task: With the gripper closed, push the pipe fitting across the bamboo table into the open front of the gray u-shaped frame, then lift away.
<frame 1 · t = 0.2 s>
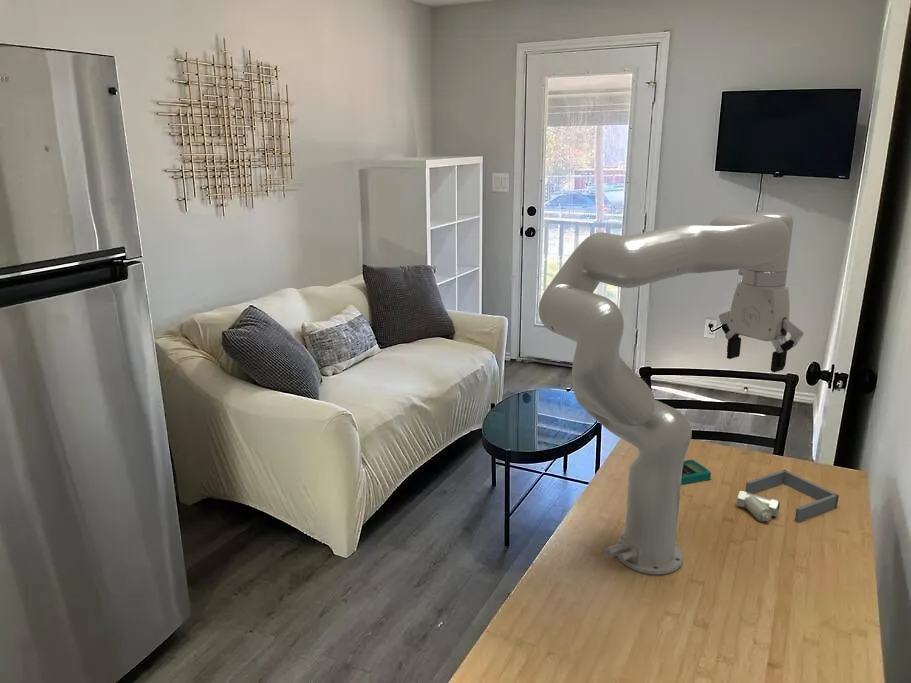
hand: (754, 363, 130), 36 cm above the table, tool pointing down, fingers open, 9 cm apart
pipe fitting: (755, 515, 144), on the table
gray u-shaped frame: (788, 500, 148), on the table
digital multimeter: (676, 480, 160), on the table
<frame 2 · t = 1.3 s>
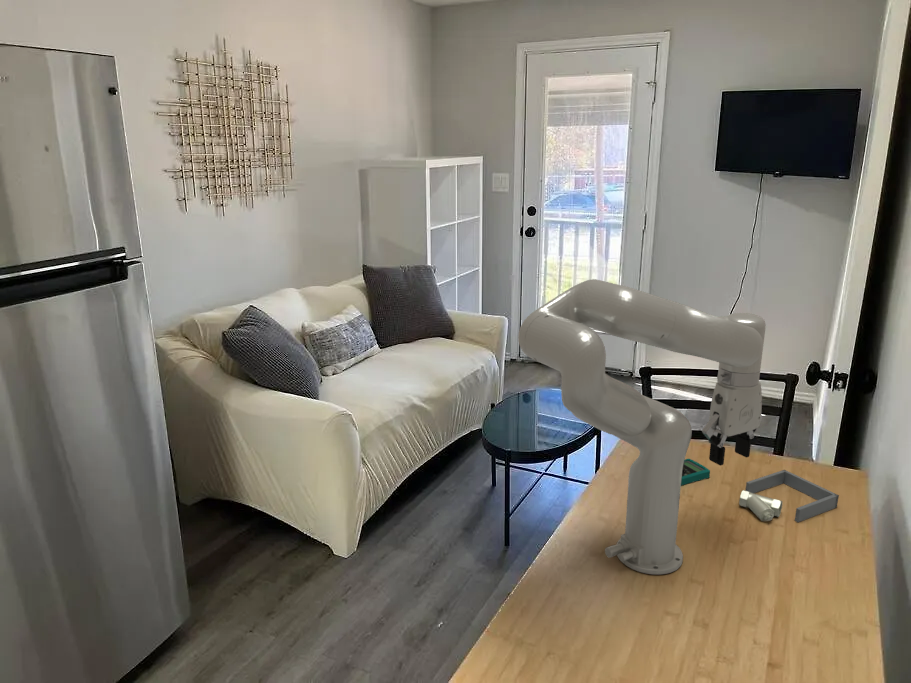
hand: (729, 458, 135), 16 cm above the table, tool pointing down, fingers open, 6 cm apart
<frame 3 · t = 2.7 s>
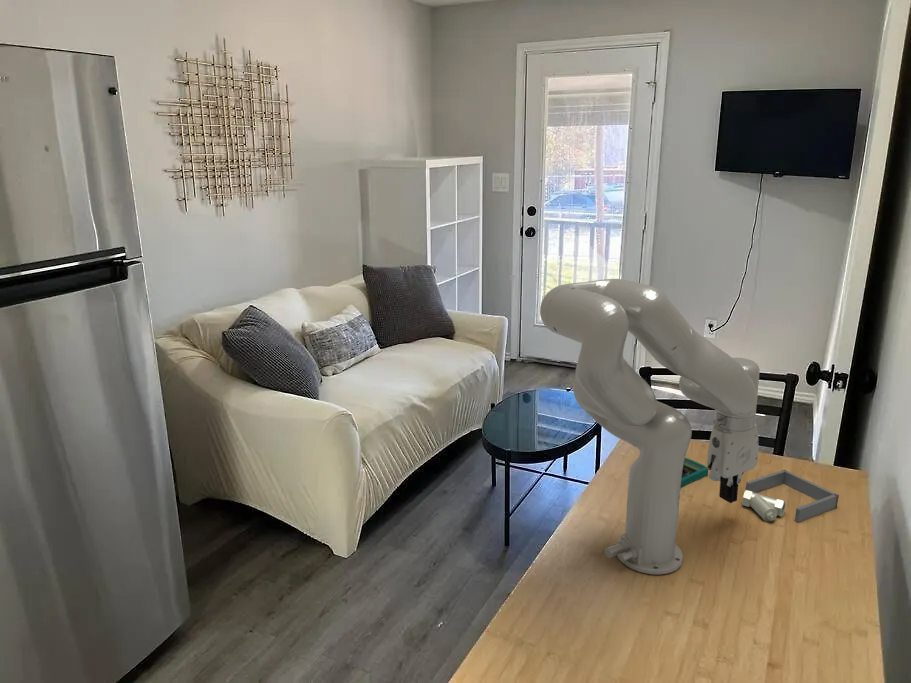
hand: (728, 499, 138), 6 cm above the table, tool pointing down, fingers closed
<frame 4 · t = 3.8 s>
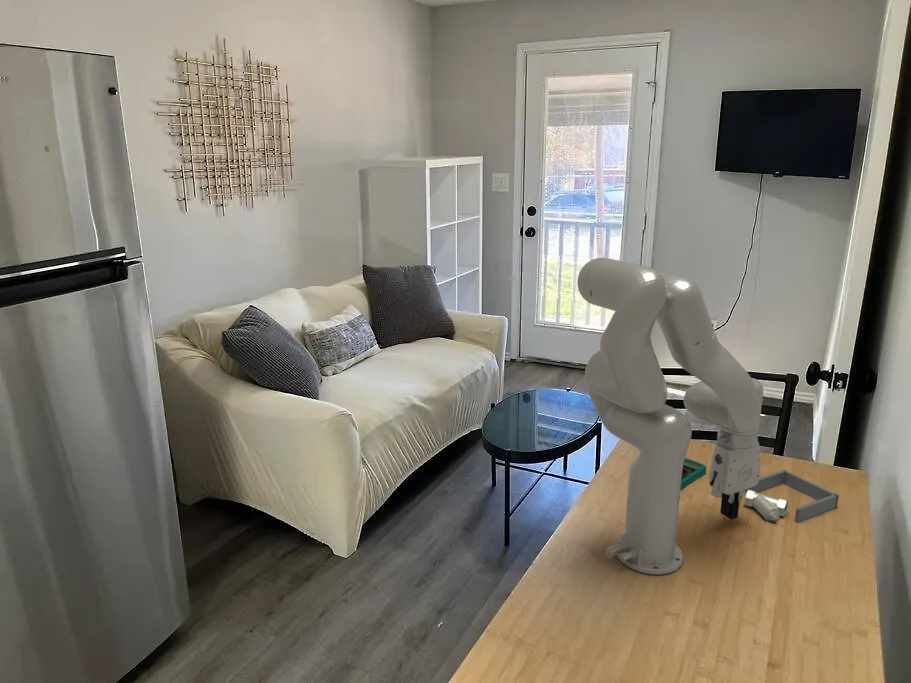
hand: (728, 515, 140), 2 cm above the table, tool pointing down, fingers closed
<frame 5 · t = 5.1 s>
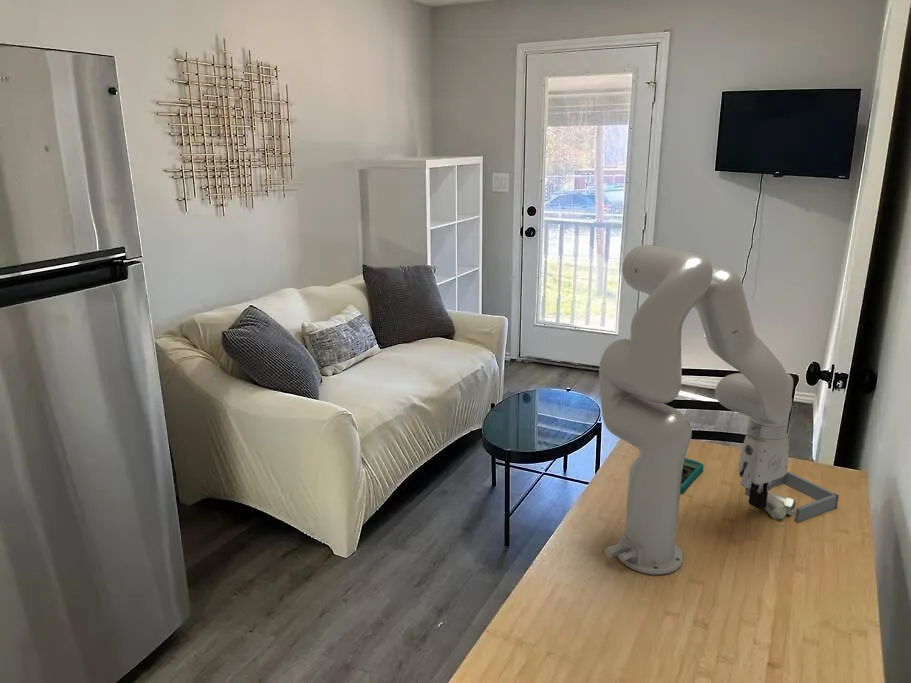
hand: (757, 505, 143), 2 cm above the table, tool pointing down, fingers closed
pipe fitting: (770, 512, 144), on the table
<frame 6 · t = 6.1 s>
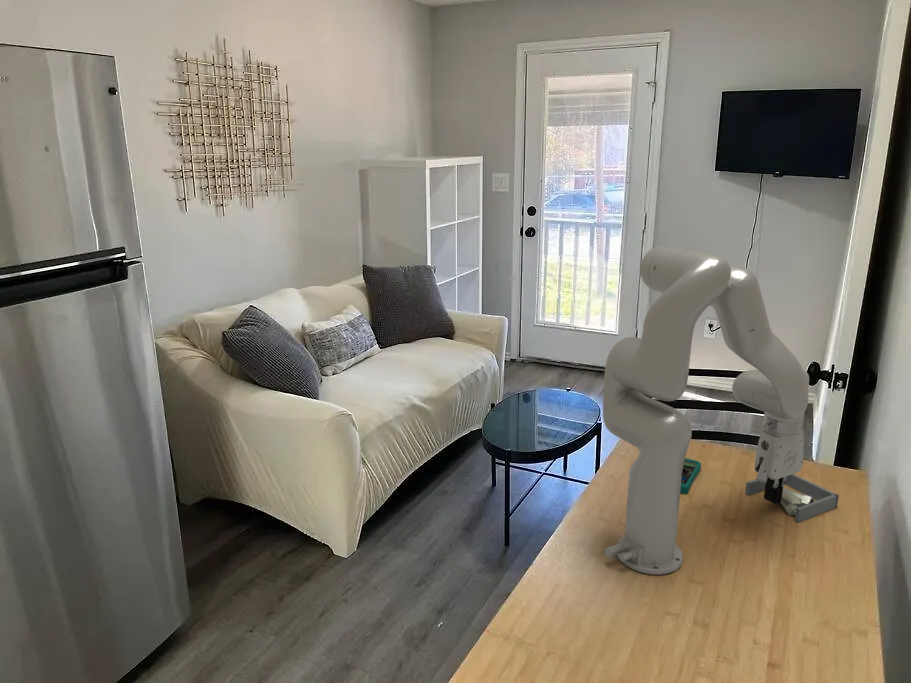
hand: (772, 500, 145), 2 cm above the table, tool pointing down, fingers closed
pipe fitting: (787, 509, 146), on the table
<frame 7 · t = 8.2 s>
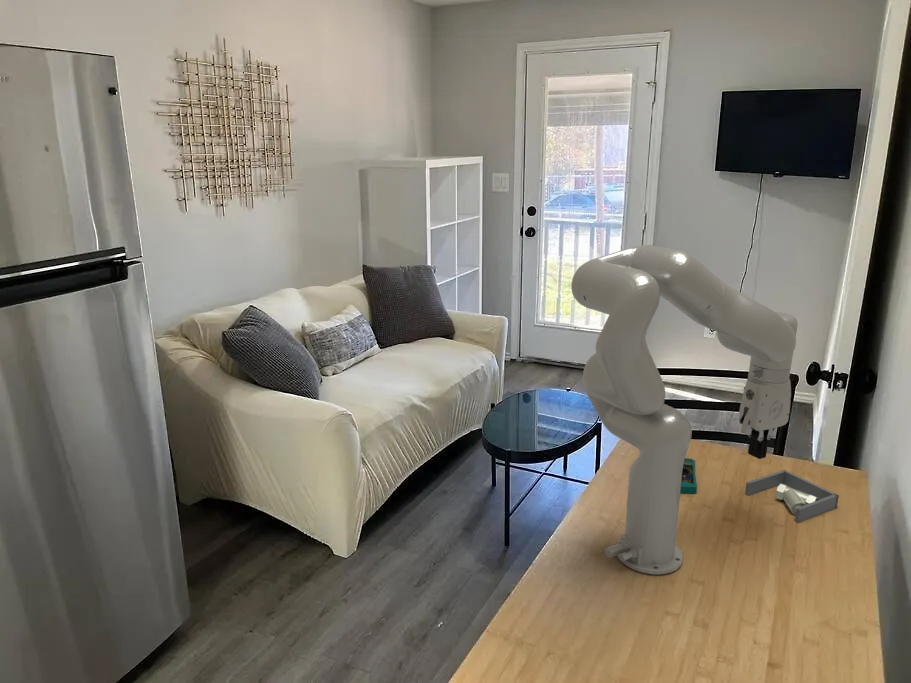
hand: (756, 455, 139), 14 cm above the table, tool pointing down, fingers closed
pipe fitting: (792, 509, 146), on the table
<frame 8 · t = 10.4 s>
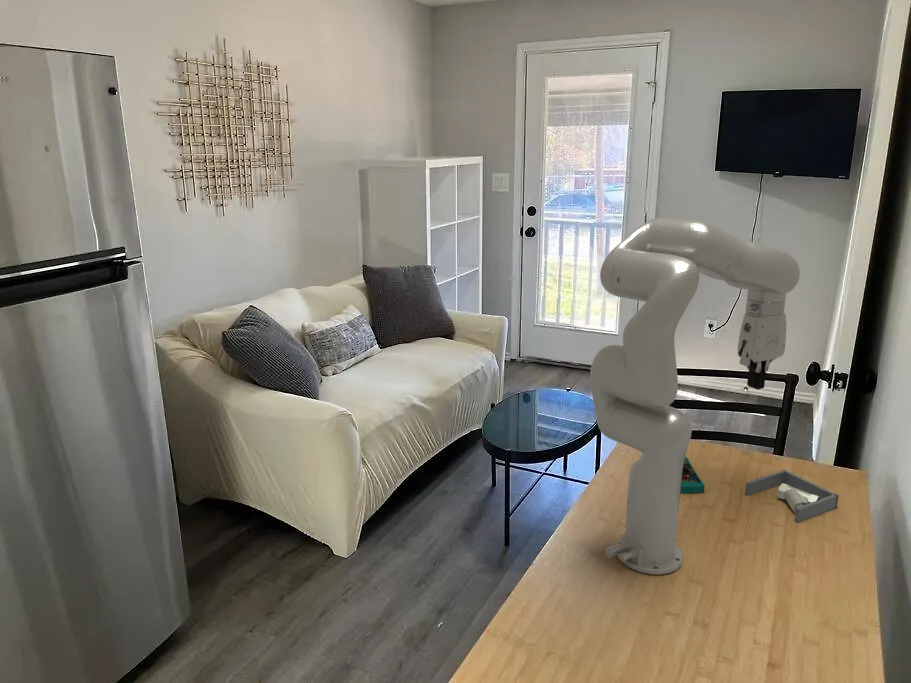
hand: (755, 387, 147), 25 cm above the table, tool pointing down, fingers closed
at the end: pipe fitting inside the target area on the gray u-shaped frame (2.3 cm from its centre), point -0.5 cm above the gray u-shaped frame's base; pipe fitting moved 10.5 cm from its start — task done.
